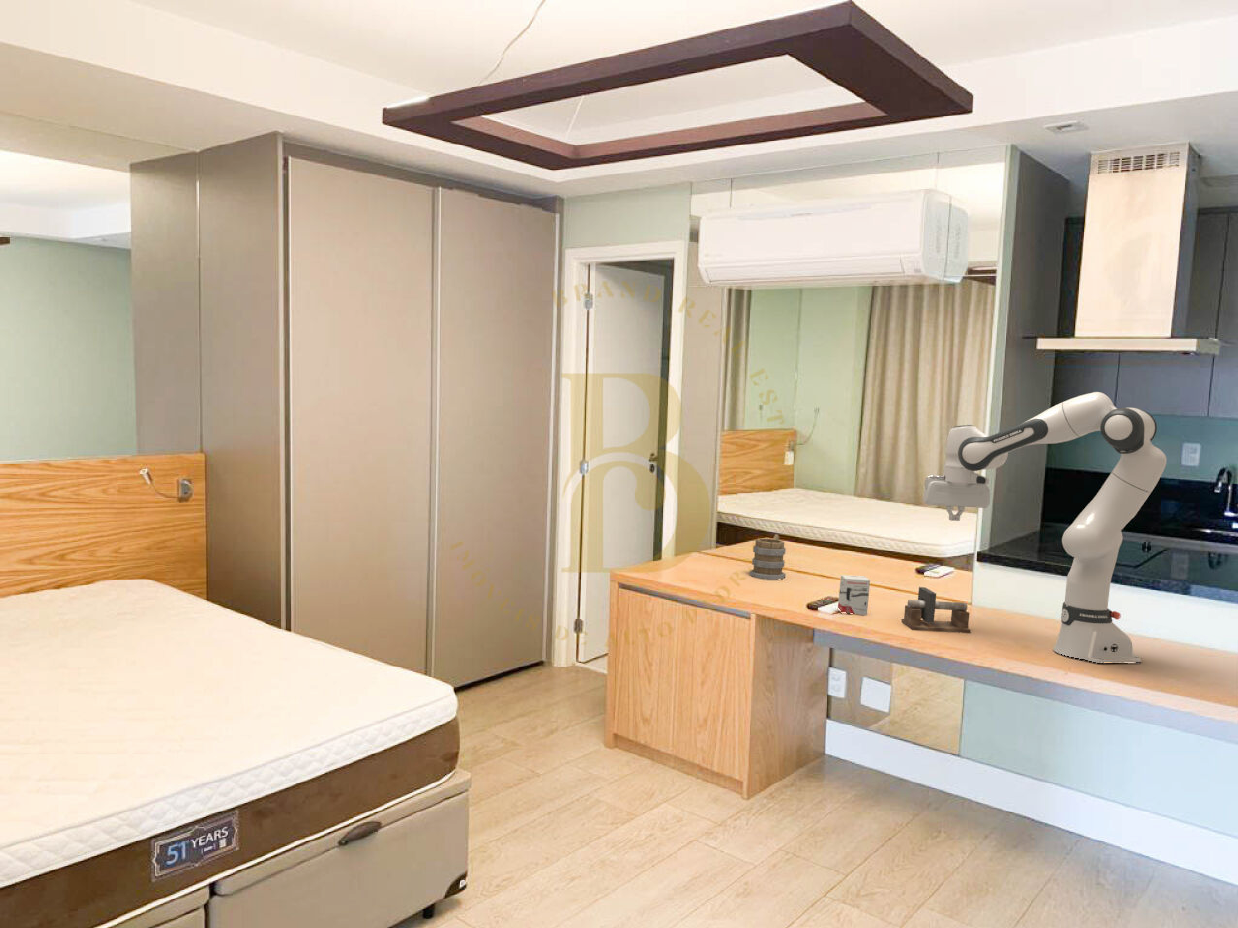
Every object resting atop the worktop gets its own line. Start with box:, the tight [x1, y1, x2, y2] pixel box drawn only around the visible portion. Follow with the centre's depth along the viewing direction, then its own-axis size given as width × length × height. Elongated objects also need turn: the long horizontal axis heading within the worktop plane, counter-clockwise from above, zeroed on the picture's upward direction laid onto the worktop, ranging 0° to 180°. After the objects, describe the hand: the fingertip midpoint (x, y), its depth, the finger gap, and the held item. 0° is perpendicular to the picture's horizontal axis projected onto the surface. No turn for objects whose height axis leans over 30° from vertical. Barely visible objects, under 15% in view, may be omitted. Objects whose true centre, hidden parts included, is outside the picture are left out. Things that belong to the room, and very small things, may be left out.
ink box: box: [837, 574, 871, 616], centre depth 299 cm, size 8×5×12 cm, turn 92°
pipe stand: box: [900, 599, 972, 634], centre depth 286 cm, size 18×10×8 cm, turn 93°
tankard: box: [748, 533, 786, 581], centre depth 354 cm, size 20×13×15 cm, turn 155°
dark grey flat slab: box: [917, 586, 937, 623], centre depth 285 cm, size 2×9×9 cm, turn 3°
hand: (954, 520), depth 289 cm, fingers closed
